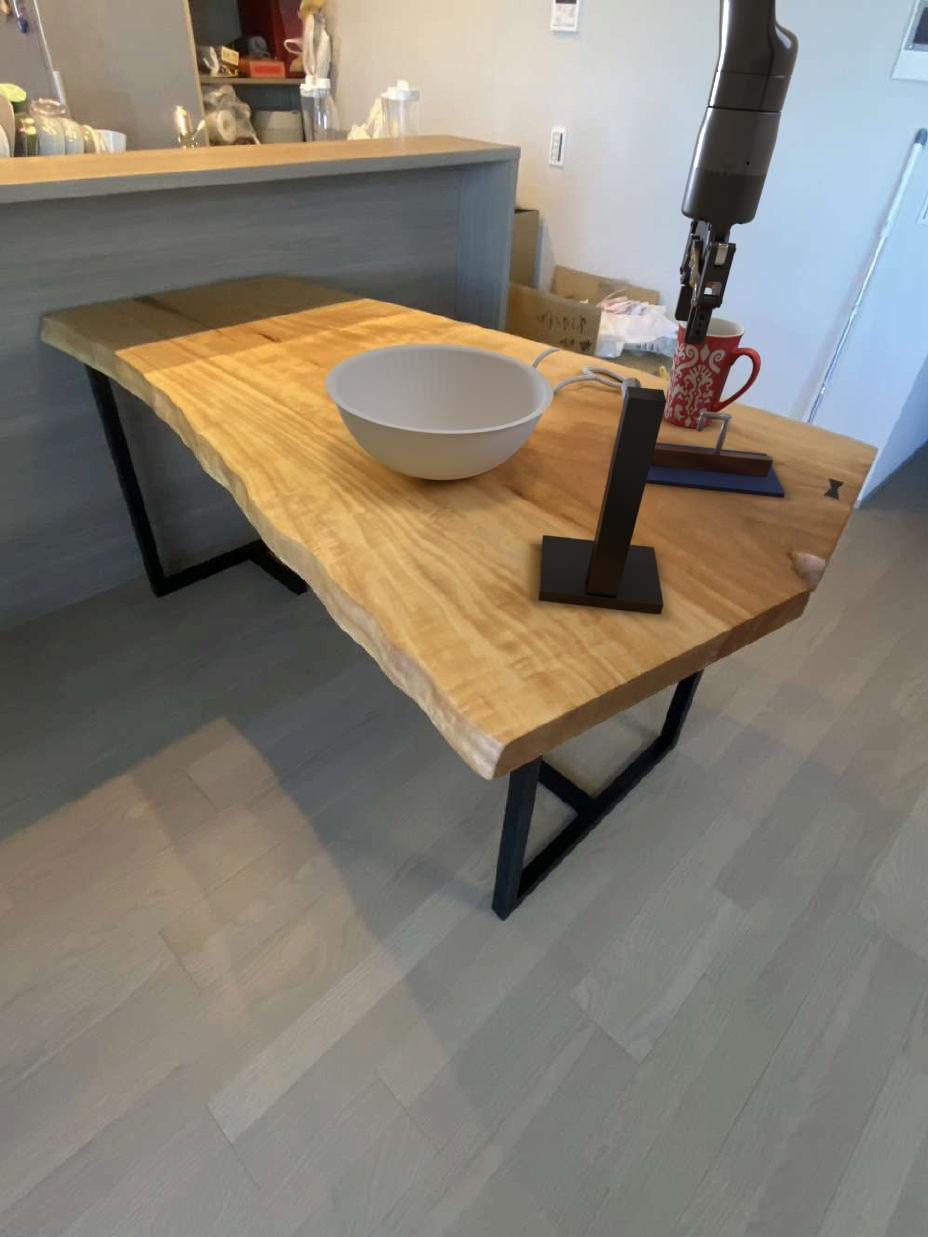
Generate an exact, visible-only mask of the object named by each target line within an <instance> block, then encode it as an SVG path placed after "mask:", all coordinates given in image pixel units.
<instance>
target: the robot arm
mask: <svg viewBox="0 0 928 1237" xmlns="http://www.w3.org/2000/svg"><path fill="white" fill-rule="evenodd" d="M718 1H719V4H718V7H719V8H718V52H717V58H716V63H715V66H714V71H713V75H712V79H711V83H710V87H709V93H708V98H707V102H706V105H707V106H706V107H705V110H704V114H703V116H702V120H701V122H700V123H701V124H700V125H699V128H698V132H697V136H696V140H695V144H694V148H693V153H692V156H691V163H690V167H689V172H688V176H687V180H686V185H685V189H684V194H683V198H682V203H681V208H680V211H681V214H682V215H683V216H684V217H686V218H688V219H691V220H690V225H689V226H690V228H689V232H688V236H687V239H686V240H687V241H686V244H685V248H684V252H683V255H682V261H681V264H680V266H679V275H681V276H680V277H679V281H680V282H679V284H680V289H679V294H678V298H677V302H676V306H675V311H674V316H673V317H674V319H675V320H676V321H678V322H679V321H686V322H687V325H686V329H685V333H684V341H685V343H686V344H694V345H701V344H703V343H704V341H705V338H706V334H707V330H708V326H709V323H710V319H711V316H712V315H713V311H714V310H716V309H720V308H721V306H722V305H723V302H724V296H725V291H726V288H727V284H728V280H729V276H730V274H731V269H732V265H733V261H734V257H735V254H736V253H737V243H735V242H730V236H731V230H732V227H733V226H735V225H747V224H749V223H751V222H753V220H754V219H755V218H756V215H757V211H758V208H759V204H760V201H761V196H762V193H763V189H764V186H765V183H766V179H767V176H768V173H769V170H770V169H769V168H770V165H771V162H772V158H773V153H774V151H775V147H776V143H777V139H778V135H779V127H780V121H781V117H782V111H783V108H784V105H785V101H786V97H787V94H788V91H789V88H790V84H791V81H792V76H793V73H794V70H795V67H796V63H797V58H798V53H799V39H798V36H797V35H796V33H794V32H792V31H791V30H789V29H788V28H786V27H784V26H782V25H781V24H780V23H779V21H778V20H777V10H776V9H777V8H776V7H777V6H776V4H777V2H776V1H777V0H718ZM706 289H710V290H711V293H710V294H709V293H705V292H706Z"/></svg>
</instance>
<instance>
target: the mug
mask: <svg viewBox="0 0 928 1237" xmlns="http://www.w3.org/2000/svg"><path fill="white" fill-rule="evenodd" d="M677 324H678V330H677V336H676V341H675V347H674V351H673V358H672V363H671V370H670V373H669V378H668V383H667V389H666V395H665V398H666V406H665V410H664V414H663V417H664V419H665V420H666V421H668V422H670V423H671V424H673V425H677V426H679V427H684V428H692V429H693V428H694V429H697V425H698V422H699V418H700V415H701V413H702V412H714V413H720V411H723V409H726V408H727V407H728V406H730V405H731V404H733V403H734V402H735V401H736V400H738V399H739V398H740V397H742V396H743V395H744V394H745V393H747V391H748V390H749V389H750V388H751V387H752V386H753V384H754V383H755V381H756V380H757V379H758V378H757V377H758V376H759V373H760V370H761V366H762V361H761V360H762V359H761V356H760V354H759V352H758V351H757V350H755V349H754V348H751V347H739V346H740V343H741V340H742V337H743V336H744V334H745V333H746V328H745V327H744V326H743V325H742V324H740V323H738V322H736V321H734V320H731V319H727V318H724V317H719V316H712V315H711V319H710V323H709V326H708V330H707V334H706V338H705V341H704V343H703V344H701V345H694V344H686V343H685V341H684V333H685V329H686V325H687V322H686V321H678V323H677ZM742 356H746V357H748V358H750V360H751V363H752V369H751V374H750V375H749V377H748V380H747V381H746V383H745V384H744V385H743V386H742V387H741V388H740V389H739V390H737V391H736V392H734V393H733V395H731V396H730V397H728V398H727V399H725V400H723V401H720V400H721V397H722V394H723V391H724V389H725V386H726V383H727V381H728V377H729V375H730V371H731V368H732V366H734V365H735V364H736V362H737V361H738V359H739V358H740V357H742ZM713 421H714V419H706V421H705V425H704V428H706V427H708V426H710V425H711V424H712V423H713Z"/></svg>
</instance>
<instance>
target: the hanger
mask: <svg viewBox="0 0 928 1237" xmlns="http://www.w3.org/2000/svg"><path fill="white" fill-rule="evenodd" d="M732 418H733V416H732V414H730V413H722V412H717V413H714V412H702V413H701V415H700V418H699V422H698V425H697V428H696V431H697V432H699V433H700V432H703V430H704V428H705V427H704V425H705V421H706V419H713V420H717V421H723V422H722V425H721V428H720V431H719V434H718V438H717V441H716V444H715V447H714V449H715V450H714V451H712V450H702V449H693V448H683V447H673V446H663V445H655V449H654V453H653V457H652V461H651V465H654V466H663V467H673V468H683V469H692V470H702V471H712V472H722V473H731V474H741V475H751V476H760V477H767V475H768V473H769V470H770V468H771V465H772V466H773V462H774V459H773V458H772V456H771V455H767V456H761V455H752V454H742V453H732V452H722V451H721V449H723V446H724V443H725V440H726V437H727V434H728V431H729V427H730V424H731V422H732Z"/></svg>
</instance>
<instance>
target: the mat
mask: <svg viewBox="0 0 928 1237" xmlns="http://www.w3.org/2000/svg"><path fill="white" fill-rule="evenodd" d="M656 445H663V446H673V447H683V448H693V449H702V450H712V451H714V450H715V447H714V448H713V447H706V446H705V447H704V446H702V447H701V446H694V445H693V446H692V445H685V444H684V445H683V444H675V443H667V442H666V443H664V442H656ZM721 451H722V452H732V453H742V454H752V455H761V456H768V454H767V453H762V452H752V451H743V450H735V449H724V448H722V449H721ZM646 484H655V485H667V486H676V487H684V488H693V489H703V490H711V491H712V490H713V491H721V492H732V493H742V494H751V495H758V496H759V495H761V496H767V497H769V496H770V497H777V498H779V497H780V498H784V497H785V496H786V492H785V490H784V488H783V486H782V484H781V481H780V480H779V478H778V476H777V473H776V471H775V469H774V467H773V464H772V465H771V468H770V470H769V473H768V475H767V477H760V476H751V475H741V474H731V473H722V472H712V471H702V470H692V469H683V468H673V467H663V466H654V465H650V469H649V473H648V477H647V481H646Z"/></svg>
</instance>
